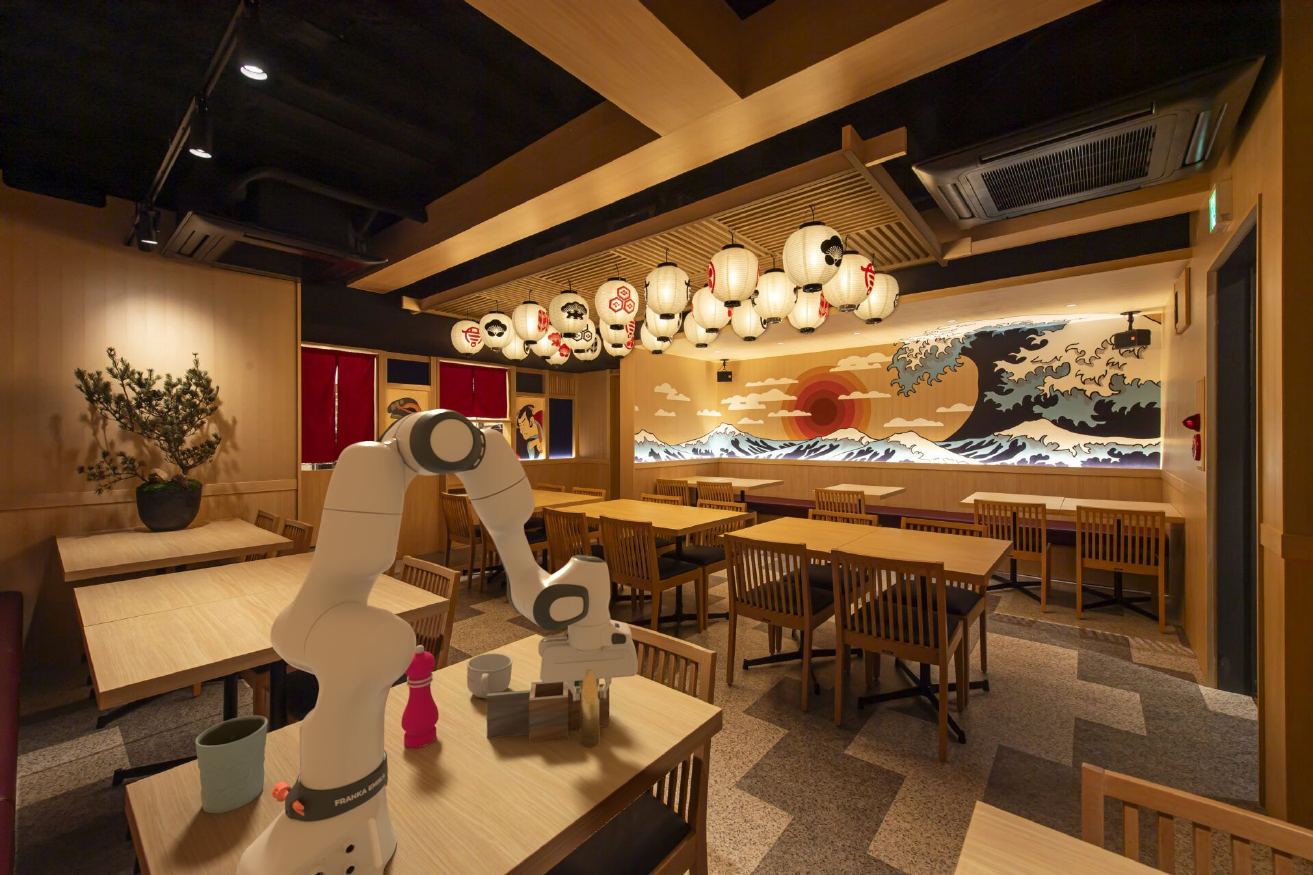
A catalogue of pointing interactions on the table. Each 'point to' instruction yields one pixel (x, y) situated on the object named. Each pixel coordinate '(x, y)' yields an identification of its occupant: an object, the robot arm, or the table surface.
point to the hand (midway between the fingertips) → (589, 698)
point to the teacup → (488, 674)
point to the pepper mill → (420, 701)
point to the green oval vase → (231, 763)
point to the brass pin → (589, 710)
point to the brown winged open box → (539, 712)
